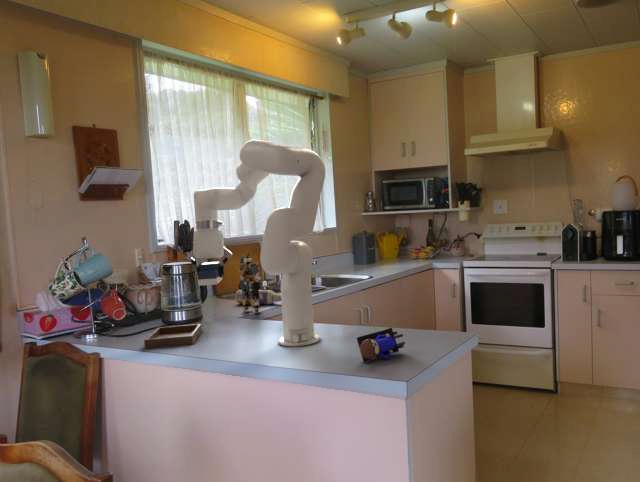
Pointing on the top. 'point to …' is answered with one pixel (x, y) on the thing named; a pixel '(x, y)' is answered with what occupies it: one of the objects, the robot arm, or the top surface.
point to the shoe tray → (173, 336)
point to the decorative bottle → (260, 297)
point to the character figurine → (379, 344)
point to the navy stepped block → (209, 274)
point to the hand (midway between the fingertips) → (211, 277)
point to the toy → (250, 284)
